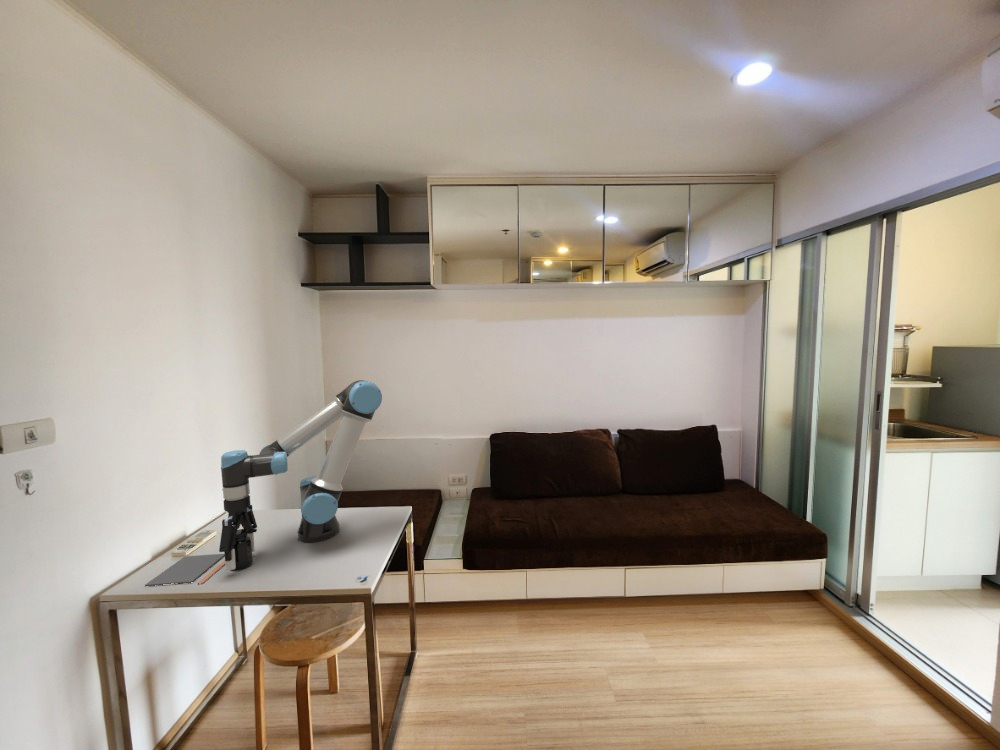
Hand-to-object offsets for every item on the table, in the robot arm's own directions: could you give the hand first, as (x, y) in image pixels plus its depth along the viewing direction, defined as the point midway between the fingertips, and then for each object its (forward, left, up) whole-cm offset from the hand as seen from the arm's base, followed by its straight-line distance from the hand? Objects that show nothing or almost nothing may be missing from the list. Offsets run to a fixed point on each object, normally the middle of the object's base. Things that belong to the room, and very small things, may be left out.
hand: (240, 560), depth 136 cm
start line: (+7, 0, -2) cm, 7 cm away
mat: (+17, 0, -2) cm, 17 cm away
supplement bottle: (0, 0, -2) cm, 2 cm away
